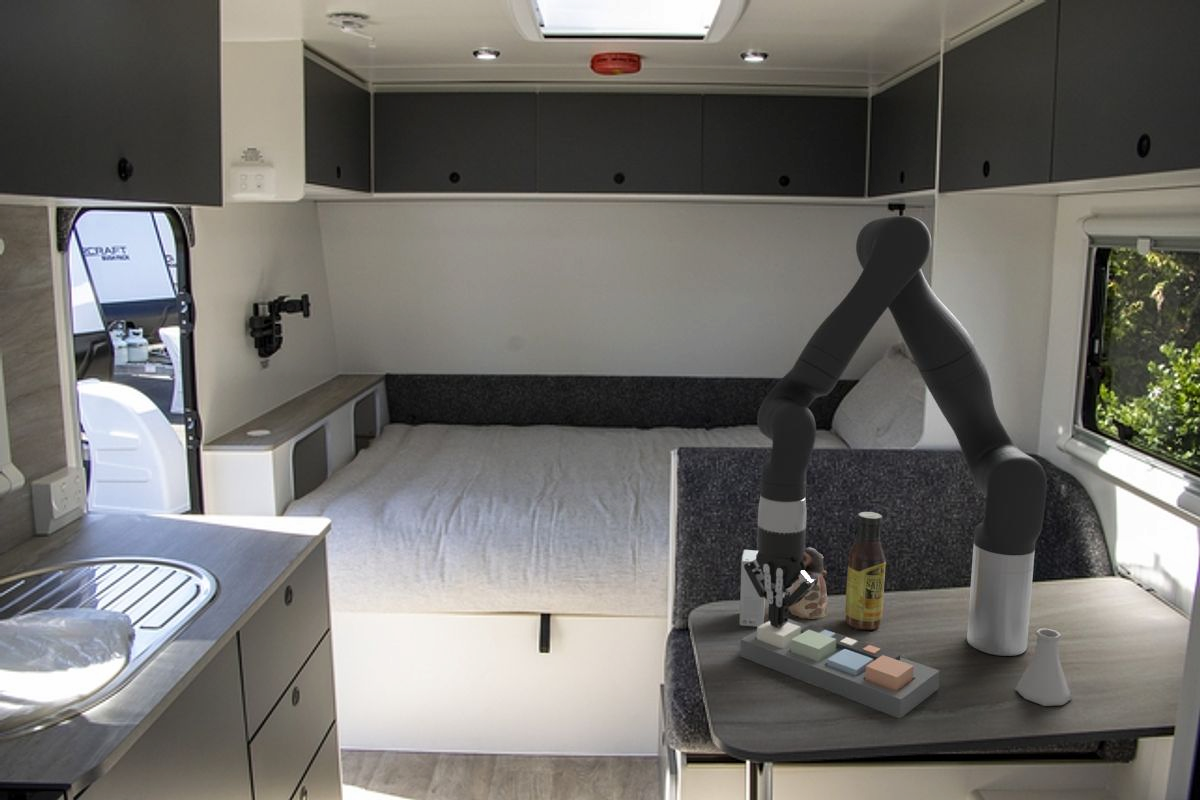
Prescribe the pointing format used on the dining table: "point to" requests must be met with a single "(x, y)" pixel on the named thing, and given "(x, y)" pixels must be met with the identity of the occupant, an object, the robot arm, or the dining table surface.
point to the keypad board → (841, 681)
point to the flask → (1045, 673)
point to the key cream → (778, 634)
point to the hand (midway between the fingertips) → (777, 625)
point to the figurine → (817, 597)
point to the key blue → (849, 662)
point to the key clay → (889, 673)
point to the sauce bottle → (866, 575)
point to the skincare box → (750, 596)
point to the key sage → (813, 645)
